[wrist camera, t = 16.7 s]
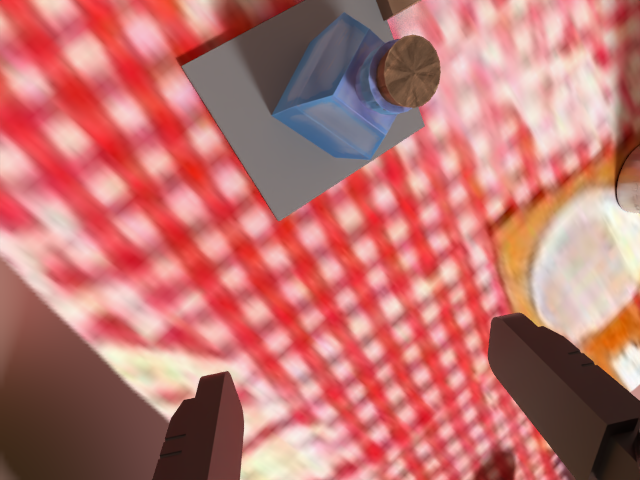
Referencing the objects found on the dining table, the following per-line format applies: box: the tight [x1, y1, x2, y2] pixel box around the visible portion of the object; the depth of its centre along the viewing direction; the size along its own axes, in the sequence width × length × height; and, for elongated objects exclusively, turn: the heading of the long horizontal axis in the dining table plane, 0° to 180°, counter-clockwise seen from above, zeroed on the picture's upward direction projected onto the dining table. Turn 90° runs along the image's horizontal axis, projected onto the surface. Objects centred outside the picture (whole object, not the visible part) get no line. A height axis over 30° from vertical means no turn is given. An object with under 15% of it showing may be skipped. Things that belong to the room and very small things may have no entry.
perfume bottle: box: [271, 12, 441, 160], centre depth 21 cm, size 6×6×12 cm
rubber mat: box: [182, 0, 425, 221], centre depth 27 cm, size 16×13×1 cm
